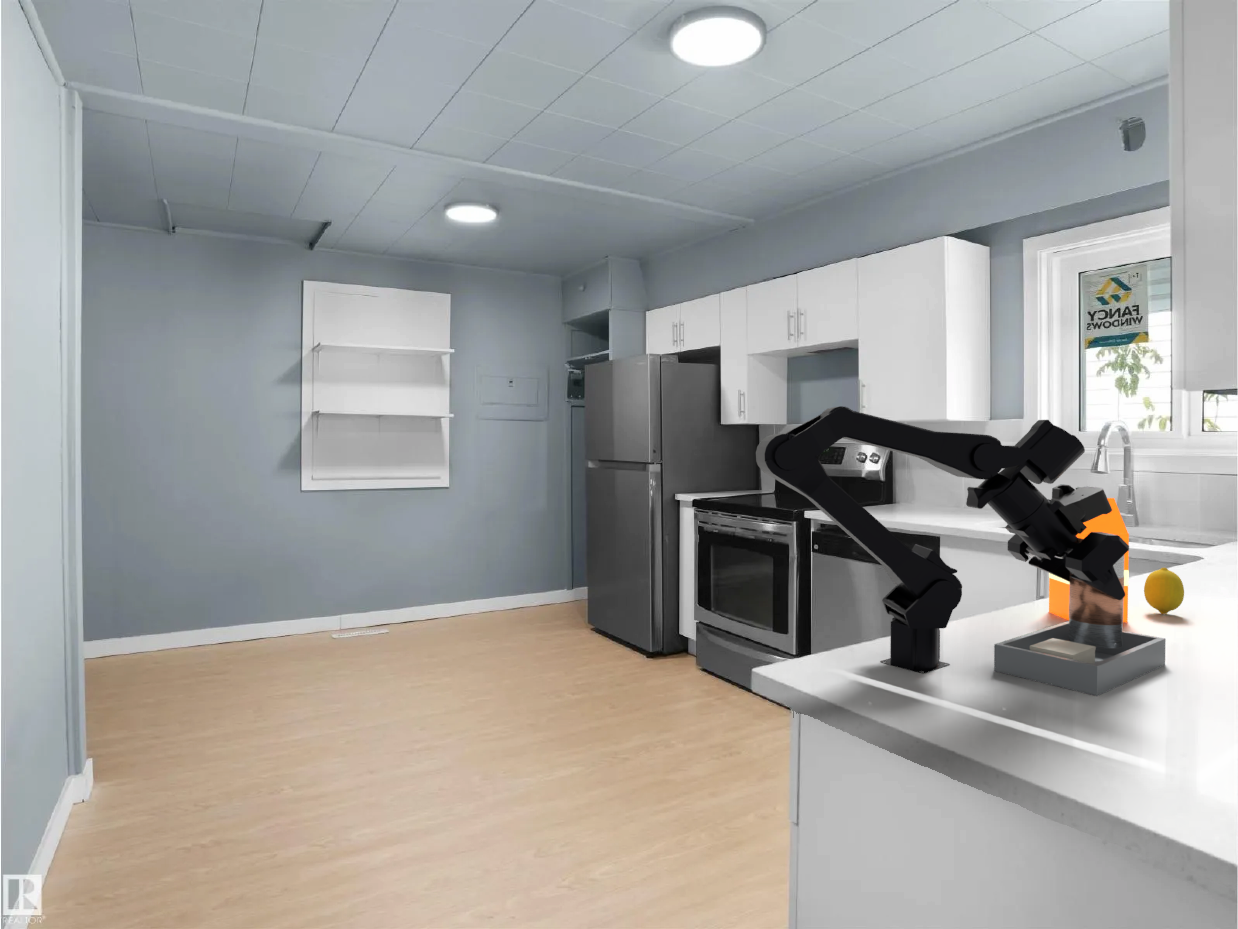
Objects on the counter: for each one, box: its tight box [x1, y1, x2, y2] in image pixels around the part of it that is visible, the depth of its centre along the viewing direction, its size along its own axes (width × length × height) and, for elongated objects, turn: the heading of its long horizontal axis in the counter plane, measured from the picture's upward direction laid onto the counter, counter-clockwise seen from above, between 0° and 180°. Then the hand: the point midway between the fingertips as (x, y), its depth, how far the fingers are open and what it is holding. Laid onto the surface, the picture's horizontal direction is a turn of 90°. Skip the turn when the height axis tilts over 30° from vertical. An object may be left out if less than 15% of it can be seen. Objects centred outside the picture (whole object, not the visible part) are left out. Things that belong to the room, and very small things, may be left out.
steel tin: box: [1068, 555, 1124, 648], centre depth 101 cm, size 6×6×13 cm
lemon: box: [1143, 567, 1185, 615], centre depth 130 cm, size 6×6×8 cm
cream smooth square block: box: [1030, 638, 1096, 664], centre depth 96 cm, size 6×5×4 cm
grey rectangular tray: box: [993, 620, 1167, 697], centre depth 98 cm, size 20×12×4 cm, turn 126°
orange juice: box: [1048, 497, 1130, 623], centre depth 128 cm, size 8×9×20 cm
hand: (1106, 592), depth 101 cm, fingers closed on steel tin, 6 cm apart
